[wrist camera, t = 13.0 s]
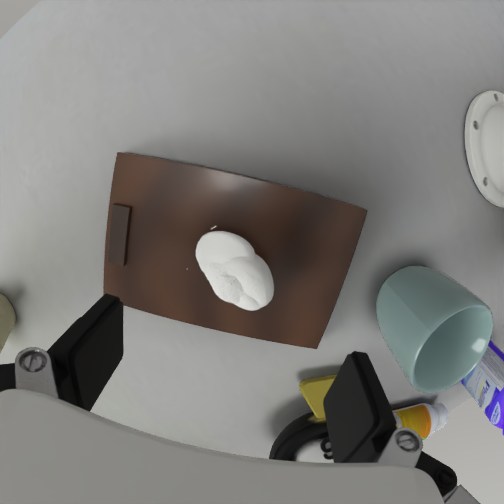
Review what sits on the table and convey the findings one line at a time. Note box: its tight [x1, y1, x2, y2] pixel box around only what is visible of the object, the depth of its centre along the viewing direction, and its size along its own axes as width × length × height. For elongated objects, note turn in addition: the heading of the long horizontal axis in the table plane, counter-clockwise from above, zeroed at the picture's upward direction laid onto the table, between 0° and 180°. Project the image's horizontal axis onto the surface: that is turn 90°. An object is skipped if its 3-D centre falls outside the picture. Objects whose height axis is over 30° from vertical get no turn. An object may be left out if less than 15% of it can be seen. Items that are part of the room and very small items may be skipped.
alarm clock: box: [269, 374, 337, 463], centre depth 25 cm, size 12×15×15 cm
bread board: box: [104, 152, 367, 349], centre depth 23 cm, size 20×13×2 cm, turn 76°
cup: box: [376, 266, 493, 393], centre depth 20 cm, size 8×8×10 cm
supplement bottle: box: [392, 403, 448, 440], centre depth 28 cm, size 5×5×10 cm
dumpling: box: [196, 226, 274, 311], centre depth 21 cm, size 7×5×4 cm
